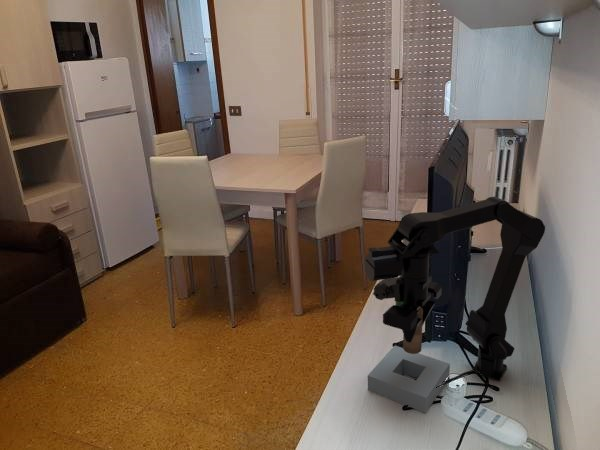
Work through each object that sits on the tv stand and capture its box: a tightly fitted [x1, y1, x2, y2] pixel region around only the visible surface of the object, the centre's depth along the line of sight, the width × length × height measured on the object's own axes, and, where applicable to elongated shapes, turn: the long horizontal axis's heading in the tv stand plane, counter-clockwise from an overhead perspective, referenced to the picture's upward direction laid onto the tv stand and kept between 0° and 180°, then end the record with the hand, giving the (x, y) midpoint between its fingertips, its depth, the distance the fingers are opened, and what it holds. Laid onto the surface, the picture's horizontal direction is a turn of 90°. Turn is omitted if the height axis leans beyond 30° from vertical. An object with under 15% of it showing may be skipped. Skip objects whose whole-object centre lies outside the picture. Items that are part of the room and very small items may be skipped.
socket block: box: [367, 345, 451, 414], centre depth 108 cm, size 14×14×4 cm
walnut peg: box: [402, 307, 423, 354], centre depth 103 cm, size 4×4×10 cm
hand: (412, 336), depth 104 cm, fingers closed on walnut peg, 4 cm apart
